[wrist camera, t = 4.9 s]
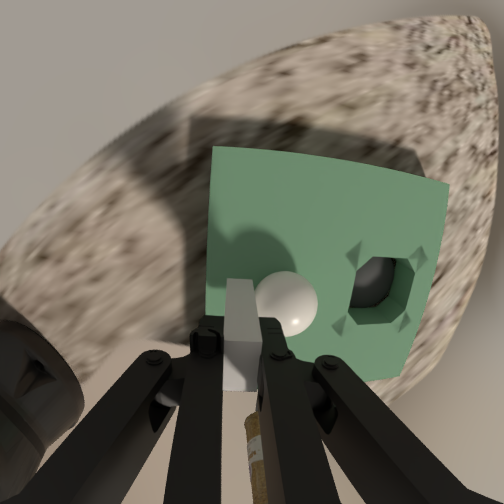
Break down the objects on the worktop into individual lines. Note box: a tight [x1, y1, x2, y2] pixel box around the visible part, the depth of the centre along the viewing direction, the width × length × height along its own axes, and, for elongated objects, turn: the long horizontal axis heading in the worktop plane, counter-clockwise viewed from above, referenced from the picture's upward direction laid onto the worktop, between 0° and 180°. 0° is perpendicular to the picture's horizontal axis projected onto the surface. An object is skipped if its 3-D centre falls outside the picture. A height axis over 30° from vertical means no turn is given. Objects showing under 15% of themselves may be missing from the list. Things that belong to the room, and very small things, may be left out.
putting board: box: [206, 146, 450, 389], centre depth 20 cm, size 18×18×3 cm
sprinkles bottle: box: [244, 411, 268, 504], centre depth 20 cm, size 5×5×14 cm
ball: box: [254, 271, 318, 337], centre depth 17 cm, size 4×4×4 cm
